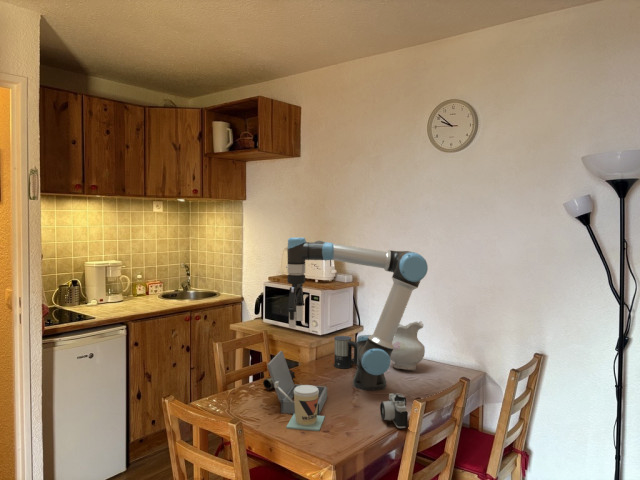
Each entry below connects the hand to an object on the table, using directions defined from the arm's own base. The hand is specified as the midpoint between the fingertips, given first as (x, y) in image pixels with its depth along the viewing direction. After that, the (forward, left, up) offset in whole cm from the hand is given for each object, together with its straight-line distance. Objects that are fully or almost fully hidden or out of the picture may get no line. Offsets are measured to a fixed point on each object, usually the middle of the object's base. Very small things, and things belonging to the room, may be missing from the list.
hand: (296, 324), depth 200 cm
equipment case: (-6, +9, -31) cm, 33 cm away
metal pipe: (+12, -6, -33) cm, 36 cm away
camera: (-41, +17, -31) cm, 55 cm away
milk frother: (-17, -49, -31) cm, 61 cm away
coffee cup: (-10, +26, -30) cm, 41 cm away
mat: (-10, +26, -31) cm, 41 cm away
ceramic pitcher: (-45, -50, -31) cm, 74 cm away
